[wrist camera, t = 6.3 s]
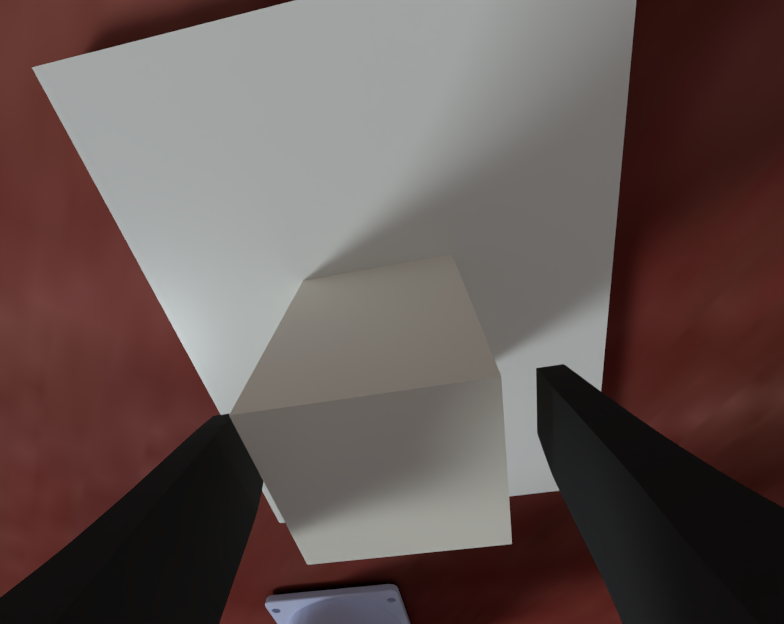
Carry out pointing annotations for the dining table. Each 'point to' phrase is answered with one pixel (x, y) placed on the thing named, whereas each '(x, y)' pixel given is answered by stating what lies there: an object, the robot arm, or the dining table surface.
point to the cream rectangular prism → (381, 417)
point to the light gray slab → (369, 171)
